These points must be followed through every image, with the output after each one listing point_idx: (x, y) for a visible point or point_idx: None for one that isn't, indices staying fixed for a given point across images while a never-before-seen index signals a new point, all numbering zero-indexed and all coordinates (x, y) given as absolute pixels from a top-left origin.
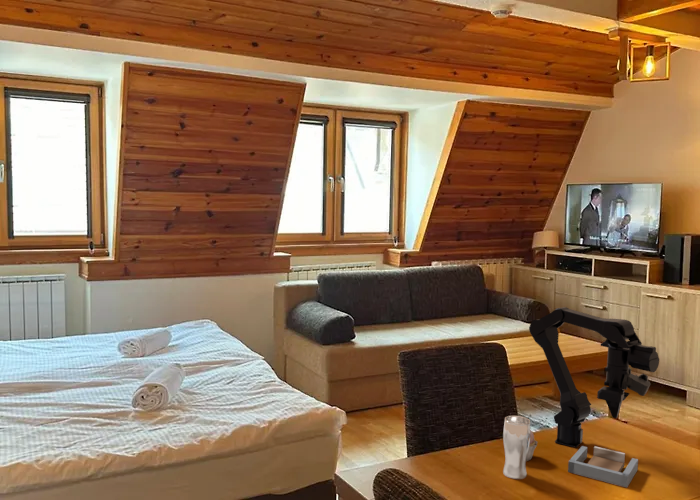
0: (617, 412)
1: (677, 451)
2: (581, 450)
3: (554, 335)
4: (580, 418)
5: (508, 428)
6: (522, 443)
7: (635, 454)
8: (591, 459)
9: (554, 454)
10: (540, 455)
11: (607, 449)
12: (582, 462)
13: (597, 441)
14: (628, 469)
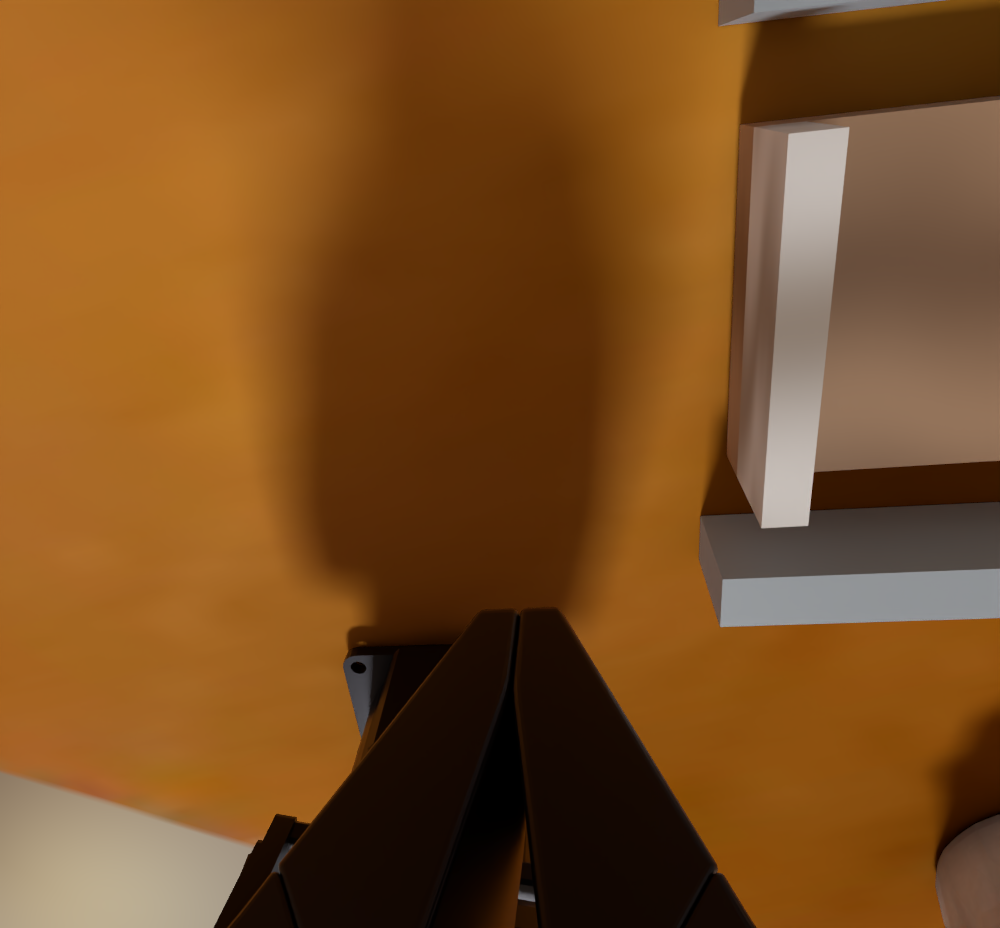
0: (634, 730)
1: None
2: (870, 597)
3: None
4: (518, 922)
5: None
6: None
7: (217, 140)
8: (914, 457)
9: (810, 718)
10: (901, 780)
11: (786, 380)
12: (870, 508)
13: (215, 555)
14: None
